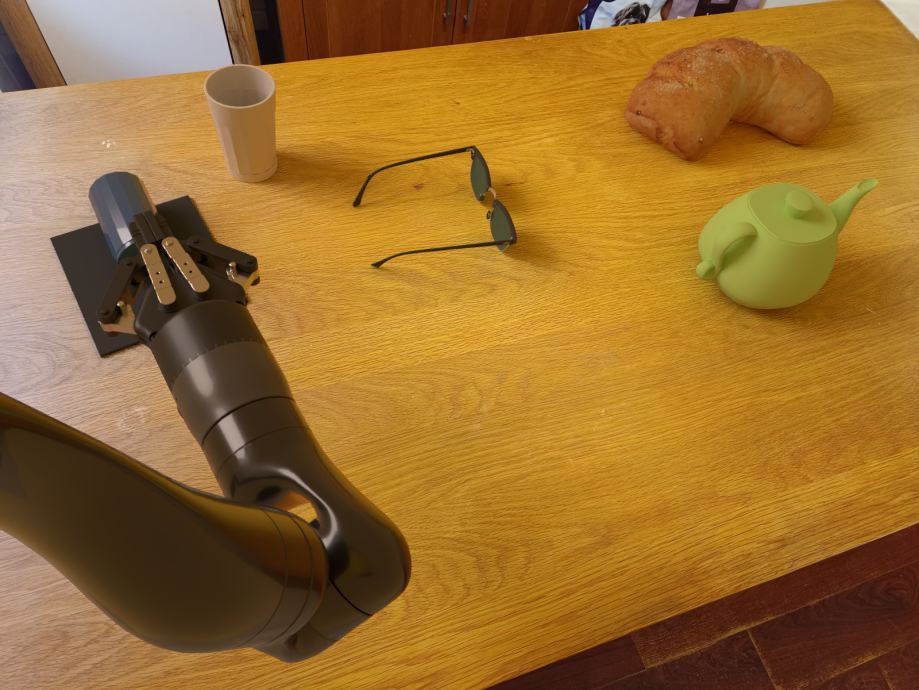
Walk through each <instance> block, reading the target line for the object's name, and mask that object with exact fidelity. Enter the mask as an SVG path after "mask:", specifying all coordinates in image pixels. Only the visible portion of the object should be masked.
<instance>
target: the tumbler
mask: <svg viewBox="0 0 919 690" xmlns="http://www.w3.org/2000/svg"><path fill="white" fill-rule="evenodd" d="M87 198H88V200H89V202H90V205H91V207H92V209H93V212H94V215H95V216H96V219H97V221H98V223H99V224H100V226H101V229H102V231H103V233H104V236H105V238H106V241H107V243H108V245H109V248H110V250H111V253H112V255H113V257H114V260H115V262H116V264H117V267H118V265H119V263H120V261H121V260H122V259H123V258H125V257H133V258H134V257H135V256H136V255H137V254H138V253H139V251H138V249H137V247H136V245H135V243H134V241H133V238H132V236H131V233H130V230H129V223H131V222H134V218H133V215H135V214H138V213H142V212H144V211H147V210H151V211H152V213H153V215H156V214H158V212H157V210H156V207H155V205H156V204H154V201H153V199H152V197H151V195H150V193H149V191H148V188H147V186H146V184H145V182H144V181H143V180H142V179H141V178H140V177H139V175H137V174H134V173H132V172H128V171H112V172H107V173H105V174H102V175H101V176H100V177H98V178H97V179H95V180H94V182H93V183H92V184H91V186H89V189H88V196H87ZM161 257H162V256H161ZM161 261H162V263H163V265H164V268H165V270H168V269H169V268H170V267H169V265H168V262H167V260H166V258H164V259H163V258H162V259H161ZM148 278H150V277H147V278H146V279H148Z"/></svg>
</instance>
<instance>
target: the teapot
mask: <svg viewBox="0 0 919 690" xmlns="http://www.w3.org/2000/svg"><path fill="white" fill-rule="evenodd" d="M878 184H879V180H878V179H876V178H874V177H870V178H865V179H863V180H861V181H859V182H857V183H856V184H855V185H853V186H852V187H851V188H849V189H848V190H847V191H845V192H844V193H842V194H841V195H840V196H839V197H838V198H836V199H835V200H834V201H832V202H831V203H829V204H826V203H825V202H824V201H823V200H822V199H821V197H819V196H818V195H817V194H816V193H815V192H814V191H812V190H810V189H809V188H808V187H805V186H803V185H801V184H797V183H793V182H773V183H767V184H764V185H761V186H759V187H756V188H753V189H752V190H749V191H748V192H745V193H743V194H741V195H739V196H738V197H736V198H735V199H732V200H731V201H730V202H728V203H726V205H724V206H723V207H722V208H720V209H719V210H718V211H717V212H716V213H715V214H713V216H712V217H711V218H710V219H709V220H708V222H707V223H706V224H705V225H704V226H703V228H702V230H701V231H700V233H699V236H698V240H697V250H698V254H699V257H700V260H701V262H700V263H699V264H697V266H696V268H695V274H696V276H697V277H698V279H701V280H702V281H711V280H712V282H713V283H714V284H715V286H716V287H717V288H718V289H719V290H720V291H721V292H722V293H723V294H724V295H725V296H726V297H727V298H728V299H730V300H731V301H732V302H734V303H736V304H738V305H740V306H743V307H745V308H748V309H749V308H750V309H754V310H755V309H756V310H777V309H779V310H780V309H785V308H790V307H794V306H797V305H800V304H803V303H805V302H806V301H808V300H810V299H811V298H813V297H814V296H816V295H817V294H818V292H819V291H820V290H821V289H822V288H823V286H824V285H825V284H826V282H827V281H828V279H829V277H830V275H831V273H832V271H833V268H834V266H835V263H836V259H837V254H838V246H839V245H838V244H839V235H840V233H842V231H843V229H844V228H845V226H846V224H847V222H848V221H849V219H850V217H851V215H852V213H853V212H854V210H855V208H856V206H857V205H858V204H859V202H860V201H861V200H862V199H863V198H864V197H865V196H866V195H867V194H869V193H870V192H871V191H873V190H874V189H875V188H876V187H877V186H878Z"/></svg>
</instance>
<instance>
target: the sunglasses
mask: <svg viewBox="0 0 919 690" xmlns="http://www.w3.org/2000/svg"><path fill="white" fill-rule="evenodd" d="M468 152H470V159H471V166H470V170H469V171H470V173H469V177H470V178H469V181H470V186H471V190H472V192H473V196H474V198H475V200H476V202H477V203H482V202H484V200H485V198H486V196H487V193H488V192H491V193H492V194H493V196H494V197H493V200H492V203H491V207H492V211H491V210H487V213H486V215H485V218H486V219H487V220H489V230H490V234H491V238H492V239H493V240H492V241H485V242H477V243H467V244H457V245H450V246H439V247H433V248H432V247H431V248H422V249H415V250H410V251H404V252H403V251H401V252H399V253H396V254H392V255H390V256H387V257H386V258H383V259H380V260H378V261H376V262H373V263H371V264H370V266H371V267H375V268H380V267H381V266H383V265H384V264H385V263H387V262H388V261H390V260H392V259H394V258H397V257H402V256H405V255H413V254H414V255H415V254H421V253H431V252H432V253H433V252H444V251H453V250H463V249H473V248H485V247H496V248H497V250H499V251H500V252H505V251H506V250H507V249H508V248H509V247H511V246H514V245H515V244H516V243H517V242H518V235H517V230H516V227H515V223H514V221H513V219H512V216H511V213H510V212H509V211H508V209H507V207H506V206H505V205H504V204H503V202H502V201H500V200H499V199H498V198H496V197H497V193H496V190H495V189H494V188H492V187H493V186H492V178H491V173H490V168H489V165H488V163H487V161H486V159H485V157H484V156H483V154H482V153H481V151H480V150H479V148H478V147H477V146H476V145H468V146H464V147H459V148H455V149H450V150H449V149H448V150H445V151H444V150H443V151H440V152H434V153H430V154H427V155H422V156H418V157H413V158H409V159H405V160H401V161H397V162H393V163H391V164H388V165H385V166H381V167H380V168H378V169H376V170H374V171H372V172H371V173H370V174H369V175H368V176H367V178H366V179H365V181H364V183H363V184H362V186H361V188H360V189H359V191H358V193H357V195H356V197H355V198H354V200H353V202H352V207H353V208H357V207H359V206H360V205H361V204H362V199H363V196H364V193H365V191H366V189H367V186H368V185H369V183H370V182H371V180H372V179H373V177H374V176H375V175H377V174H378V173H380V172H382V171H385V170H388V169H391V168H395V167H399V166H403V165H408V164H411V163H416V162H421V161H426V160H430V159H431V160H432V159H436V158H441V157H446V156H451V155H457V154H463V153H468Z"/></svg>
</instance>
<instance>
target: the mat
mask: <svg viewBox="0 0 919 690" xmlns="http://www.w3.org/2000/svg"><path fill="white" fill-rule="evenodd" d="M154 205H155V207H156V210H157V212H158V214H161V215H162V216H163V217H164V218H165V220H166V222H167V224H168V226H169V227H170V229H171V231H172V233H173V235H174V237H175V238H176V239H178V240H188V238H189V237H191V236H193V235H198V236H201V237H204V238H207V239H209V240H212V241H215V239H214V238H213V236H212V234H211V233H210V232H211V231H209V229H208V227H207V225H206V224H205V222H204V220H203V218H202V217H201V215H200V213H199V211H198V209H197V208H196V206H195V205H194V202H193V201H192V199H191V197H190V195H189V194H185V195H183V196H180V197H176V198H173V199H171V200H170V199H169V200H167V201H164V202H160V203H158V204H154ZM49 240H50V242H51V244H52V247H53V249H54V251H55V254H56V257H57V258H58V261H59V263H60V266H61V268H62V270H63V272H64V275H65V277H66V280H67V282H68V284H69V287H70V289H71V291H72V293H73V296H74V298H75V301H76V303H77V305H78V309H79V310H80V312H81V315H82V317H83V320H84V322H85V324H86V327H87V329H88V331H89V334H90V336H91V339H92V340H93V343H94V346H95V348H96V350H97V352H98V355H99V357H100V358H103V357H107V356H110V355H111V354H112V355H113V354H114V353H117V352H119V351H122V350H125V349H128V348H131V347H132V346H136V345H138V344H142V343H141V342H140V341H139V340H138V339H137V336H136V334H130V333H123V332H121V333H120V334H119V335H118V336H116V337H108V336H106V334H105V333H104V330H103V329H102V327H101V325H100V323H99V320H98V318H97V316H96V310H97V308H98V306H99V304H100V302H101V300H102V298H103V296H104V294H105V292H106V290H107V288H108V286H109V283H110V281H111V279H112V277H113V275H114V273H115V271H116V269H117V264H116V262H115V260H114V257H113V255H112V253H111V250H110V248H109V245H108V243H107V241H106V238H105V236H104V233H103V231H102V229H101V226H100V224H99V222H97V223H93V224H90V225H87V226H83V227H81V228H77V229H74V230H71V231H67V232H64V233H61V234H58V235H55V236H50V238H49ZM197 268H198V269H204V268H201V267H199V266H197ZM204 270H207V269H204ZM207 271H209V270H207ZM209 272H212V271H209ZM166 273H167V275H168V276H170V275H175V274H174V273H173V271H172V270H171V268H169V269H168V270H166ZM212 273H214V274H217V273H215V272H212ZM217 275H219V276H221V277H224V278H226V279H228V277H225V276H223V275H220V274H217ZM143 281H144V282H143V285H142V287H141V289H140V292H139V294H138V296H137V298H136V300H135V303H134V305H133V307H132V310H133V312H134V317H136V314H137V311H138V309H139V306H140V304H141V301H142V299H143V296H144V294H145V291H146V290H147V288H148V287H149V286H150V285H151V284H152V283H151V280H150V278H148V279H144V280H143ZM246 299H247V303H248V302H249V300H248V298H247V297H246Z"/></svg>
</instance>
